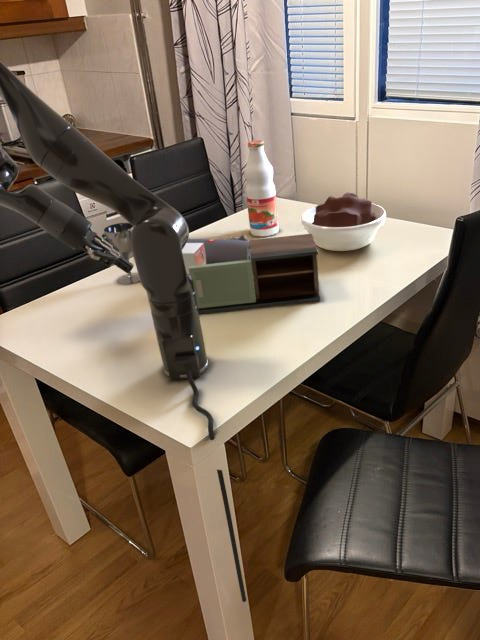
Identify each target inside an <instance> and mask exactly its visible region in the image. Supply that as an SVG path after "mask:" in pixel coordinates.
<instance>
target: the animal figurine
mask: <svg viewBox="0 0 480 640" xmlns="http://www.w3.org/2000/svg"><path fill="white" fill-rule="evenodd" d="M229 239H230V240H243V241H249V240H247V237H246V236H245V234H244V233H243V234H241V235H240V236H239V237H237V236H231V238H229Z"/></svg>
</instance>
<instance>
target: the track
mask: <svg viewBox="0 0 480 640" xmlns="http://www.w3.org/2000/svg"><path fill="white" fill-rule="evenodd" d="M316 247H317V246H316ZM316 247H315V248H306V249H296V250H287V251H277V252H268V253H258V254H251V261H261V260H270V259H280V258H289V257H298V256H308V255H317V256H318V255H319V250H318V248H316ZM315 302H321V295H320V292H319V293H314V294H305V295H296V296H287V297H277V298H268V299H259V300H256V302H253V303H244V304H235V305H226V306H216V307H207V308H198V311H199V315H203V314H214V313H223V312H231V311H241V310H251V309H260V308H261V309H262V308H269V307H278V306H288V305H297V304H306V303H315Z"/></svg>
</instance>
